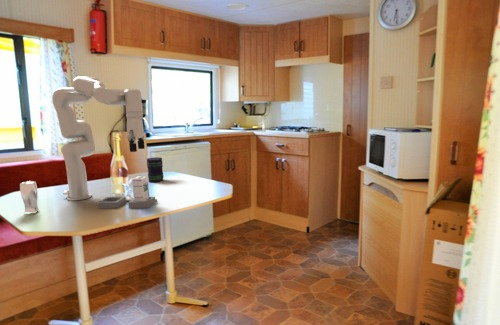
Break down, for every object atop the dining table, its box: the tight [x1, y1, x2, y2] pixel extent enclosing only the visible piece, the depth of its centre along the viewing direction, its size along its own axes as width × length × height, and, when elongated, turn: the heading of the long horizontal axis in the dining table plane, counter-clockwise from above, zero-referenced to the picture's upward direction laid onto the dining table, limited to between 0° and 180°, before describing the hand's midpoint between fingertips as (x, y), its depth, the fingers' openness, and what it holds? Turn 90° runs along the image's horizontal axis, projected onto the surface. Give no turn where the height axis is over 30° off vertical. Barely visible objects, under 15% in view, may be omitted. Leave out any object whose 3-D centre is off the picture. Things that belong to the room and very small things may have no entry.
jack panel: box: [97, 196, 158, 209], centre depth 182 cm, size 26×12×3 cm, turn 85°
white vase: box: [19, 180, 40, 213], centre depth 172 cm, size 7×7×15 cm
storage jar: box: [146, 157, 164, 184], centre depth 232 cm, size 10×10×15 cm
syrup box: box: [131, 175, 150, 202], centre depth 179 cm, size 6×6×14 cm
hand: (137, 150), depth 175 cm, fingers open, 9 cm apart
